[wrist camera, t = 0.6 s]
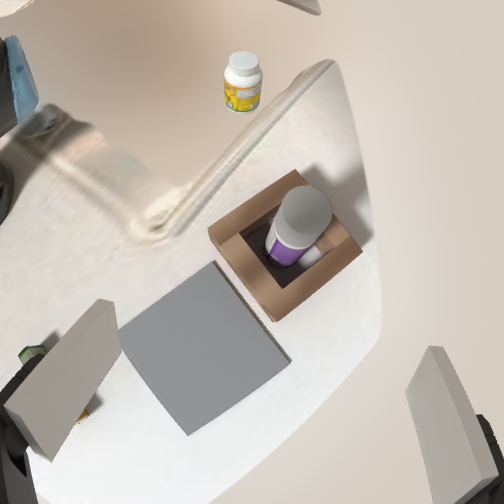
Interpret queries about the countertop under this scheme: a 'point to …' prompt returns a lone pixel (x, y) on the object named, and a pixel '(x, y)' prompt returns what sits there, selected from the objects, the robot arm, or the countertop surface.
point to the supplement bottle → (242, 82)
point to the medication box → (34, 350)
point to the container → (297, 225)
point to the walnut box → (250, 267)
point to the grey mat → (200, 349)
